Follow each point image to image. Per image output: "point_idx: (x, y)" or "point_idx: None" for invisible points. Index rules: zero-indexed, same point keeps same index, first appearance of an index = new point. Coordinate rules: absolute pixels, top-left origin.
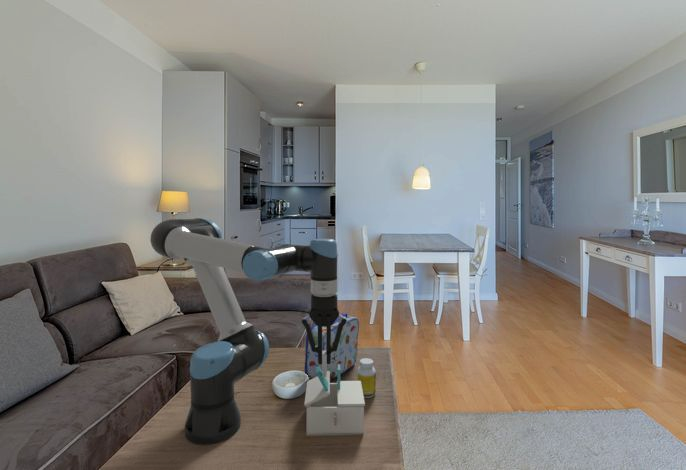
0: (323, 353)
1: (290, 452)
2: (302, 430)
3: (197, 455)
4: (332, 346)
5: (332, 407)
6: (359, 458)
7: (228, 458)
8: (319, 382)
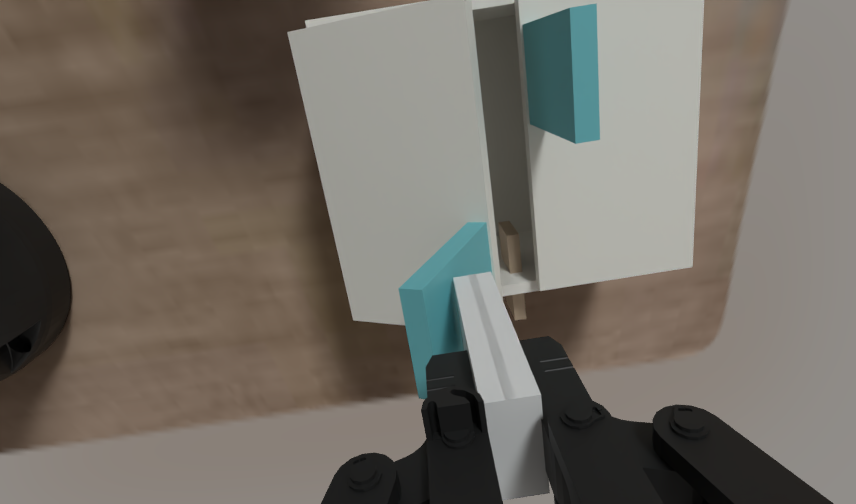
0: (507, 473)
1: (342, 355)
2: None
3: (19, 413)
4: (662, 499)
5: (507, 293)
6: (590, 346)
7: (138, 410)
8: (405, 146)
